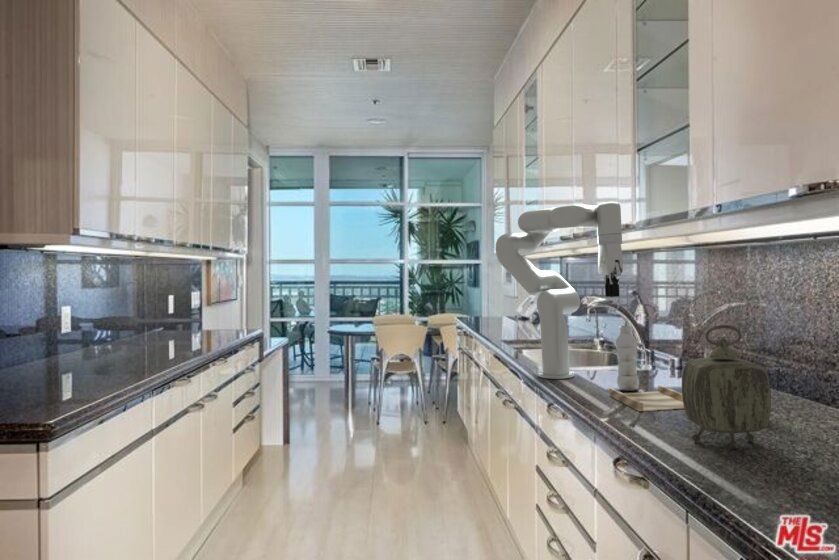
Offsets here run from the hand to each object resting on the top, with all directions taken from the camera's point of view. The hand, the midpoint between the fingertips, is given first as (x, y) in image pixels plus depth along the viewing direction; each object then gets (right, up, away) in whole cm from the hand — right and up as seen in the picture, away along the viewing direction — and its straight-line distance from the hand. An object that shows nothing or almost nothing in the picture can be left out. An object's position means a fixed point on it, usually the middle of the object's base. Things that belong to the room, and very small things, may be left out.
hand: (612, 296), depth 174 cm
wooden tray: (+2, -29, -24) cm, 38 cm away
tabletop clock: (+1, -29, -64) cm, 70 cm away
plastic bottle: (+2, -29, -9) cm, 31 cm away
